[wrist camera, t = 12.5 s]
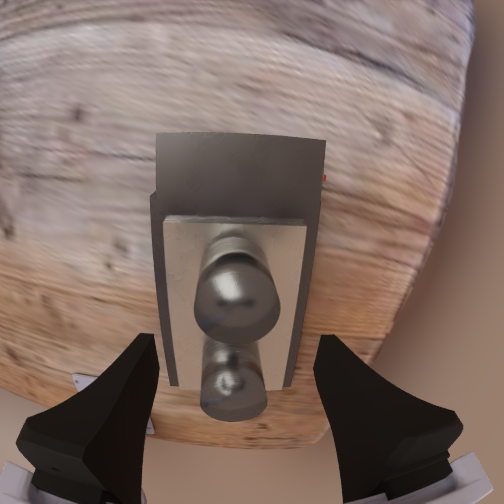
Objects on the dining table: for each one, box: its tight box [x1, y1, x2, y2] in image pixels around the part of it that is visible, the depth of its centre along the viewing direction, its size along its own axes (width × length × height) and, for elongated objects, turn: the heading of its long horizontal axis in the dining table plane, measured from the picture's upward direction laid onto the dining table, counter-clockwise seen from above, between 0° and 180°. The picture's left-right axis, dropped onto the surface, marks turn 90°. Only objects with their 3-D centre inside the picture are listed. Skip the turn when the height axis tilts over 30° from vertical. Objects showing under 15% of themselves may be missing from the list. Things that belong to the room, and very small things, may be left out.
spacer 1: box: [194, 237, 281, 345], centre depth 17 cm, size 4×4×5 cm
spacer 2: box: [200, 339, 267, 422], centre depth 20 cm, size 4×4×5 cm
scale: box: [150, 132, 326, 391], centre depth 20 cm, size 21×11×6 cm, turn 177°
